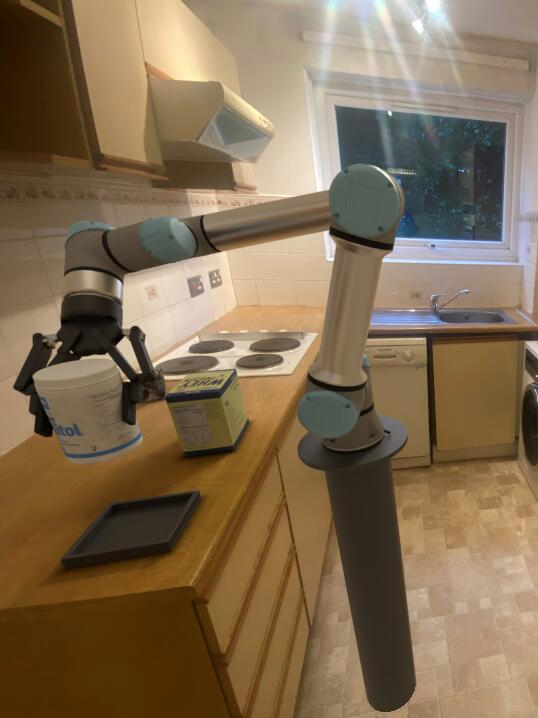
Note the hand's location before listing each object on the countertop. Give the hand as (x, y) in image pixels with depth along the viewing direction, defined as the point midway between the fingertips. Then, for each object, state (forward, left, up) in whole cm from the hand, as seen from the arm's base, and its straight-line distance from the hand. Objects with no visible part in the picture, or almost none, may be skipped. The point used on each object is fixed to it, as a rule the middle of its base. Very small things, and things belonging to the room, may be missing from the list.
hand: (87, 428), depth 66 cm
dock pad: (0, -3, -22) cm, 22 cm away
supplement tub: (0, -3, -6) cm, 7 cm away
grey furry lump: (+25, -71, -22) cm, 78 cm away
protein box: (-3, -35, -22) cm, 42 cm away
